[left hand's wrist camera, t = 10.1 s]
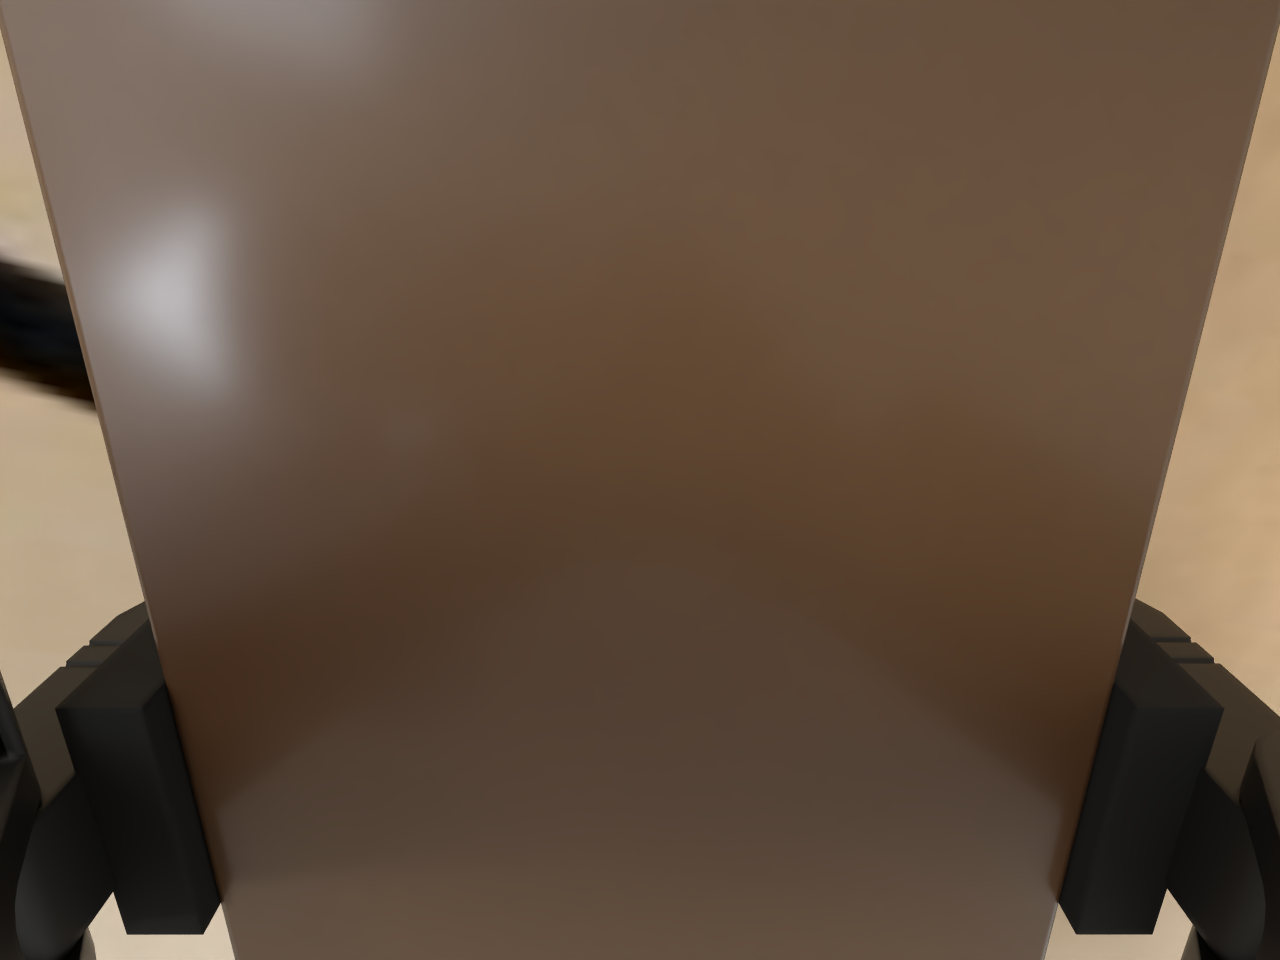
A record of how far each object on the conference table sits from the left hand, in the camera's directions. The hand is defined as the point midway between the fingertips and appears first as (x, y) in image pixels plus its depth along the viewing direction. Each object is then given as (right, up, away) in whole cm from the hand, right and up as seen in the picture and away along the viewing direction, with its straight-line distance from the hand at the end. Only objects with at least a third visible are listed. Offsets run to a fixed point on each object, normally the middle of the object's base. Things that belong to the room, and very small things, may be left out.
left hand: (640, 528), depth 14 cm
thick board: (0, +25, -9) cm, 26 cm away
